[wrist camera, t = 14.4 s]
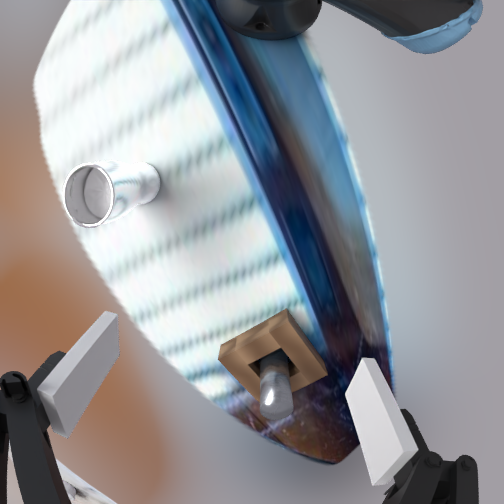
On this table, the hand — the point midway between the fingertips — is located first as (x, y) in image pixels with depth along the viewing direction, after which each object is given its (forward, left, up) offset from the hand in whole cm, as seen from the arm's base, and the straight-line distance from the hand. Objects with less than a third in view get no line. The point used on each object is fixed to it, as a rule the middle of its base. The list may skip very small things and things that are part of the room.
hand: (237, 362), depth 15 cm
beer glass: (+9, -15, -29) cm, 34 cm away
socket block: (+8, +19, -29) cm, 35 cm away
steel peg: (+8, +19, -29) cm, 35 cm away
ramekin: (+122, +43, -29) cm, 133 cm away
